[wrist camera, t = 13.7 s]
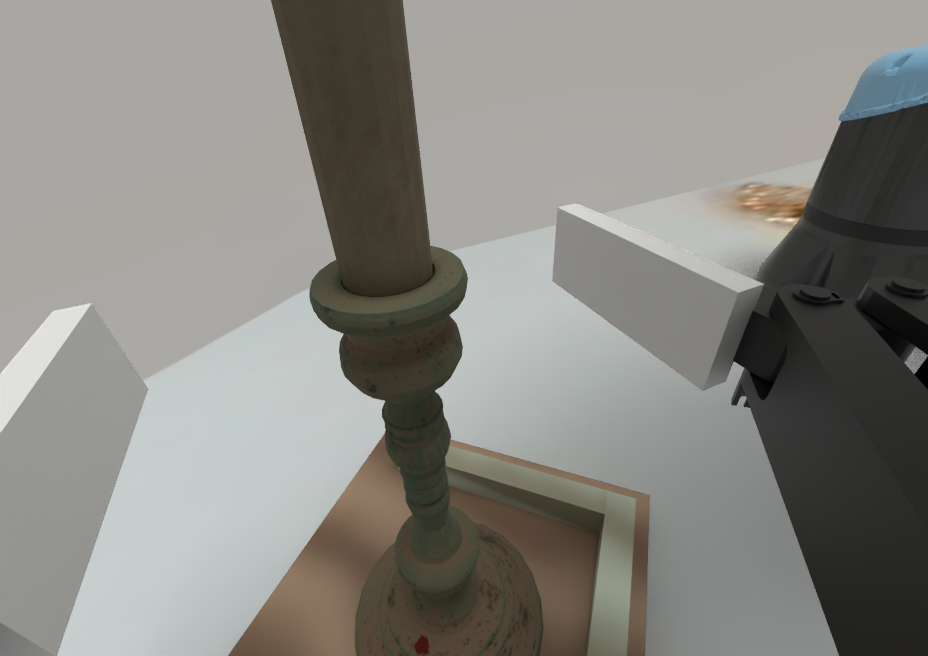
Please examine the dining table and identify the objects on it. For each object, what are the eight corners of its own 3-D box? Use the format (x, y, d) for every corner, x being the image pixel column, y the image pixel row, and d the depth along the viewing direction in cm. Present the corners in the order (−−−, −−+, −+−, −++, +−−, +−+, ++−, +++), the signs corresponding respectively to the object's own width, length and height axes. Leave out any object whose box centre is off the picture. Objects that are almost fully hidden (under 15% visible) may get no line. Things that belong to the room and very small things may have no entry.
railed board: (395, 436, 32) (387, 404, 30) (644, 509, 26) (656, 474, 24) (149, 801, 17) (101, 784, 15) (617, 1192, 10) (642, 1251, 9)
